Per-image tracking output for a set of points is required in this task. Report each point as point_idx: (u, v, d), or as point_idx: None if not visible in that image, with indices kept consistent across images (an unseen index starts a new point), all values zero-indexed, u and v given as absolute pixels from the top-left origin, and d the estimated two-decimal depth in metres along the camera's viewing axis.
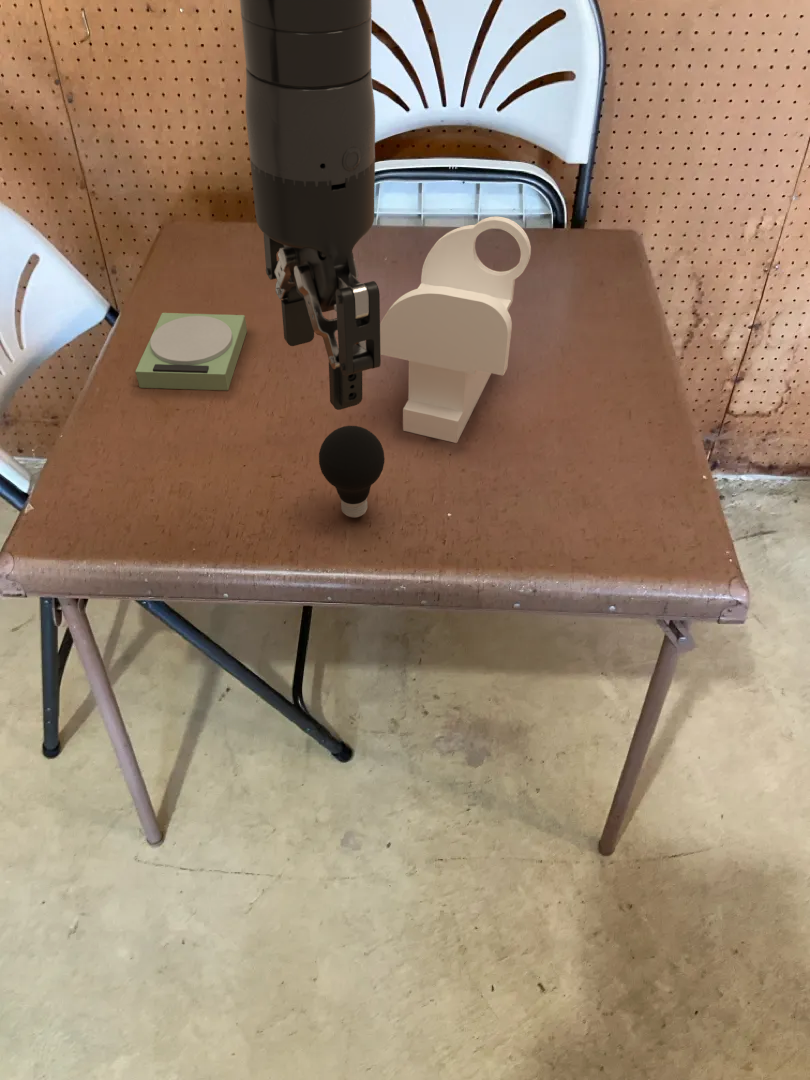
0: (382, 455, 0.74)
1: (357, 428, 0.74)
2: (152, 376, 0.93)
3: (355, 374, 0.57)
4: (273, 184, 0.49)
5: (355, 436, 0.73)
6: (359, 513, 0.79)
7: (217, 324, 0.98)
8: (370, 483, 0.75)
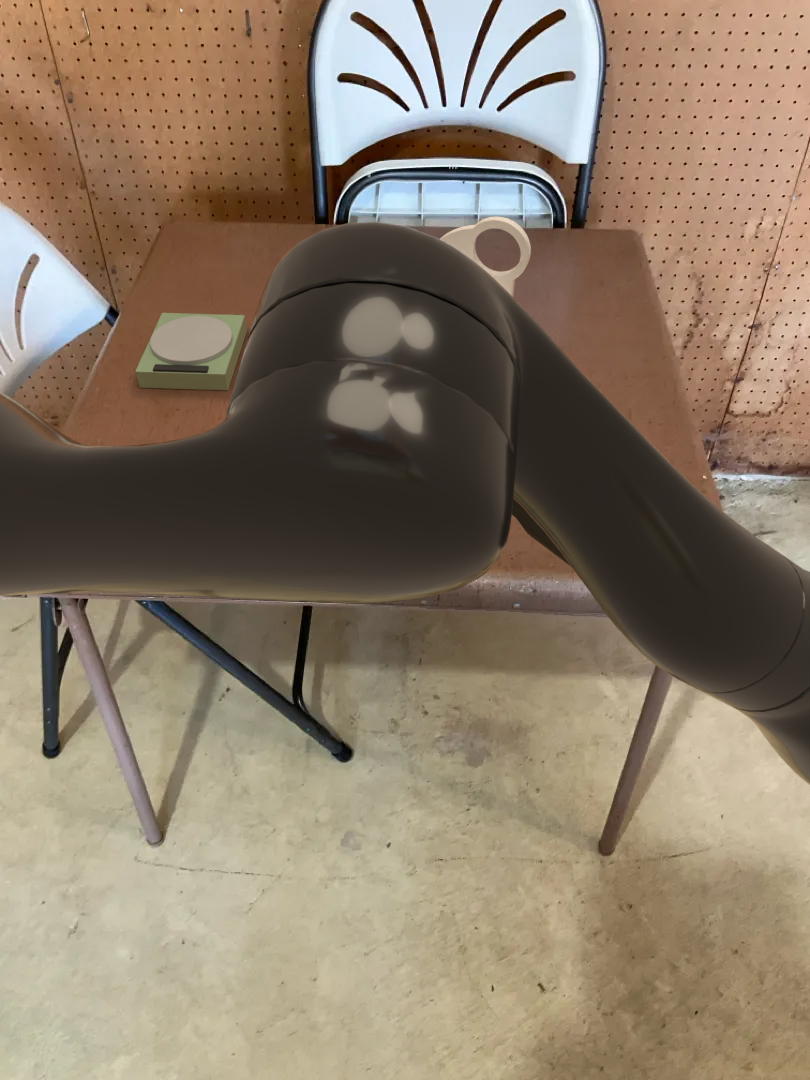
0: None
1: None
2: (152, 376, 0.93)
3: None
4: None
5: None
6: None
7: (217, 324, 0.98)
8: None
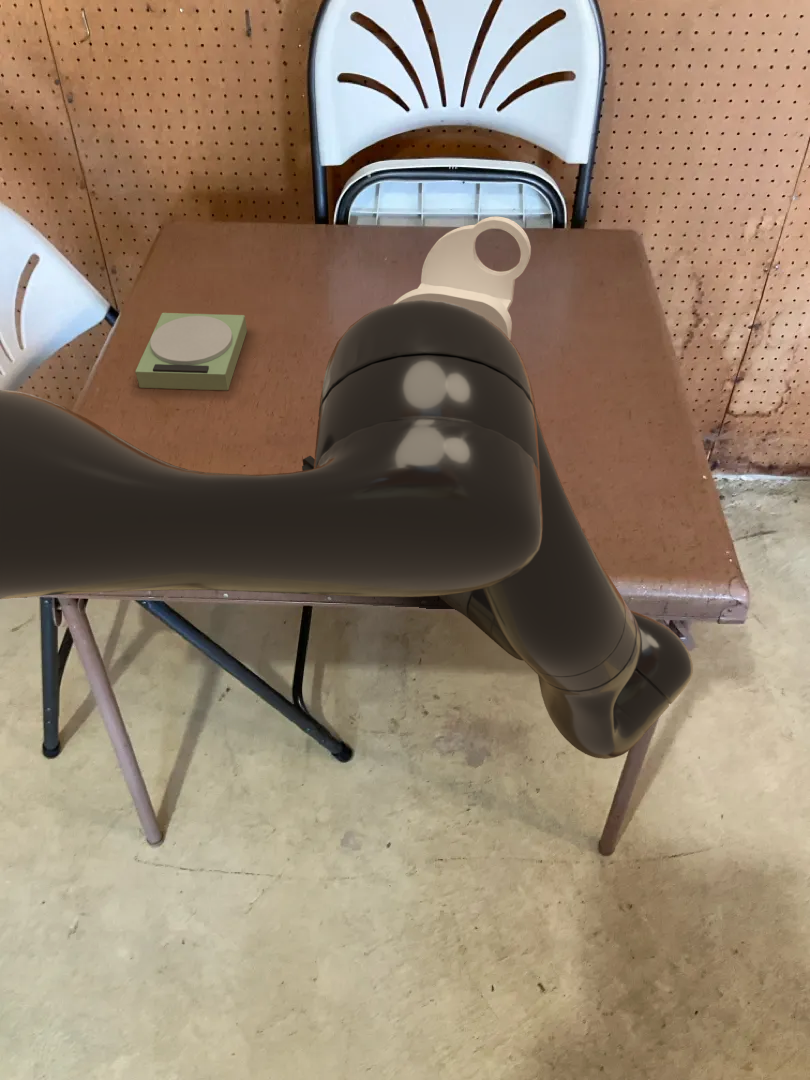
0: None
1: None
2: (152, 376, 0.93)
3: None
4: None
5: None
6: None
7: (217, 324, 0.98)
8: None
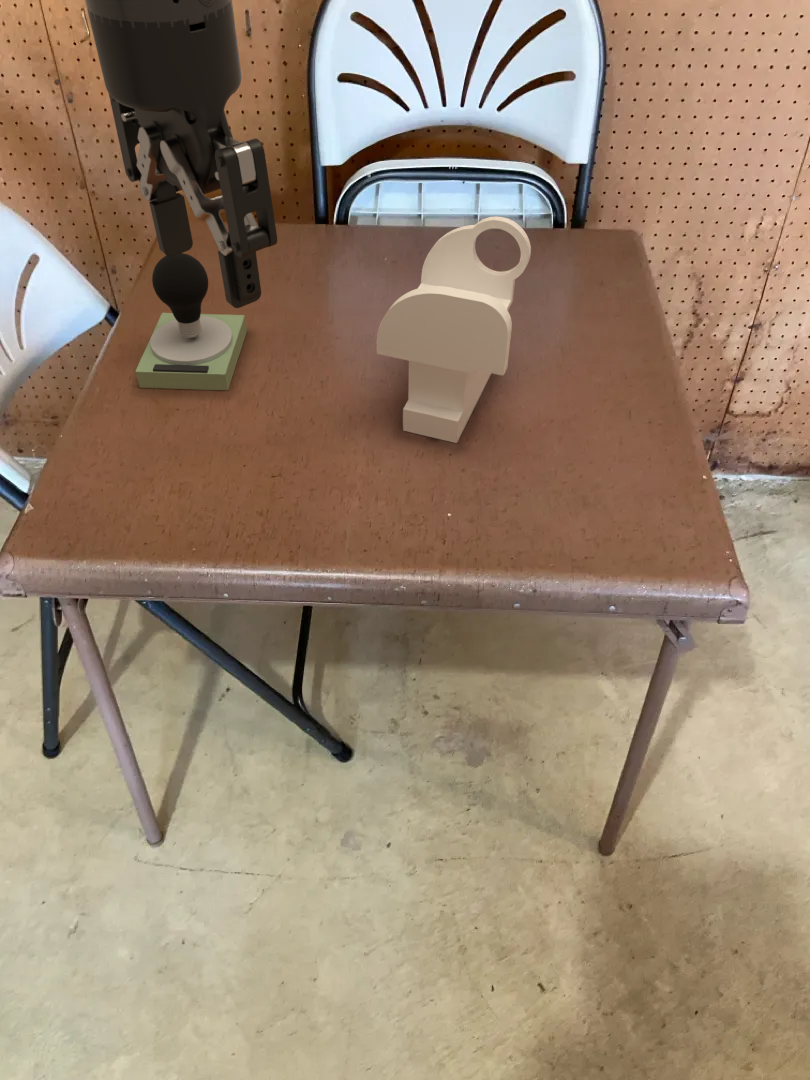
0: (204, 277, 0.90)
1: (182, 253, 0.89)
2: (152, 376, 0.93)
3: (250, 260, 0.51)
4: (121, 33, 0.42)
5: (179, 258, 0.89)
6: (193, 333, 0.94)
7: (217, 324, 0.98)
8: (194, 300, 0.90)
